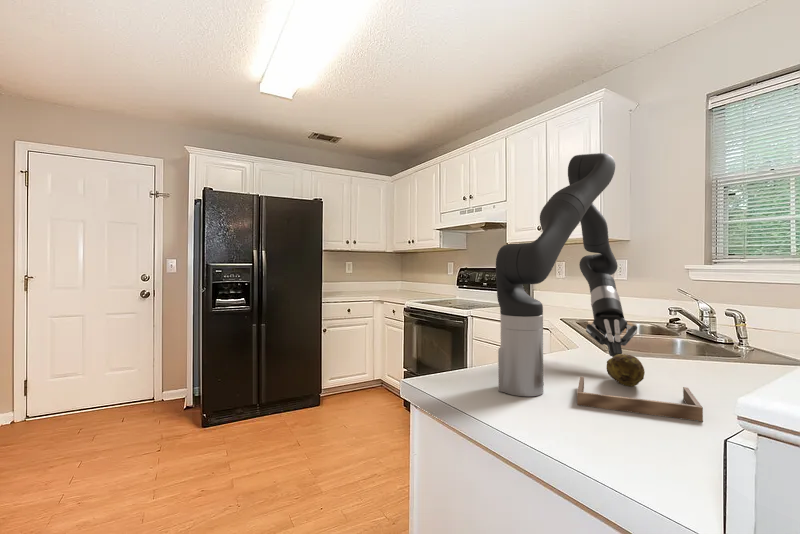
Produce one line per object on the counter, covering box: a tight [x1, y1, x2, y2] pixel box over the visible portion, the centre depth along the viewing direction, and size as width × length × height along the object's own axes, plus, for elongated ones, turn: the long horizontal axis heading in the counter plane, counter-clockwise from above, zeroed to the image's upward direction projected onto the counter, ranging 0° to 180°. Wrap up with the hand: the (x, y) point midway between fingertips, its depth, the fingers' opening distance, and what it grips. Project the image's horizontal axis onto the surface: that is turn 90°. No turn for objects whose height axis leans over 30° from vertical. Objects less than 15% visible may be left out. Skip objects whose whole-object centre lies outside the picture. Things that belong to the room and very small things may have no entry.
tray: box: [576, 376, 704, 422], centre depth 83 cm, size 21×14×2 cm, turn 64°
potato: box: [606, 353, 646, 387], centre depth 95 cm, size 8×13×8 cm, turn 146°
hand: (616, 356), depth 104 cm, fingers closed
